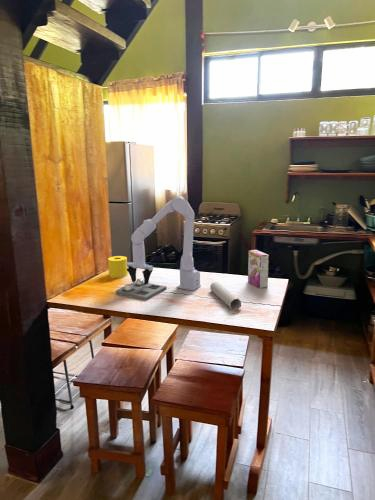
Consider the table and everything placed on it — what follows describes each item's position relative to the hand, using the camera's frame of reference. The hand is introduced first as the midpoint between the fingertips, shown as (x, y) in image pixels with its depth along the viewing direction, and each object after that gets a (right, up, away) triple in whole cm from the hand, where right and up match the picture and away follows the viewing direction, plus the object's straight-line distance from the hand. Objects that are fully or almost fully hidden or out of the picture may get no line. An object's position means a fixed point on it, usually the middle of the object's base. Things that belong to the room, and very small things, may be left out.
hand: (140, 282), depth 173 cm
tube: (+39, -6, -16) cm, 43 cm away
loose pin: (0, -2, +1) cm, 2 cm away
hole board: (+1, -4, -5) cm, 6 cm away
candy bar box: (+58, -1, +2) cm, 58 cm away
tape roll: (-15, +2, +21) cm, 25 cm away
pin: (-4, -4, -7) cm, 9 cm away
